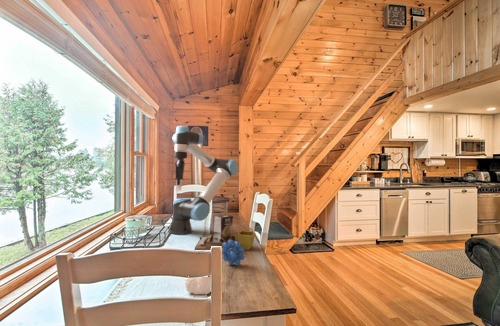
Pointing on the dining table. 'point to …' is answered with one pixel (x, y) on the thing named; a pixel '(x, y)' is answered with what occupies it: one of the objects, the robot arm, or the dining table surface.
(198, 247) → the stand
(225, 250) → the blue flower head
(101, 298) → the dining table surface
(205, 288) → the bust
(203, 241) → the latch bar
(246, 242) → the flower pot
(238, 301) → the dining table surface
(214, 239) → the coffee box
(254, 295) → the dining table surface
